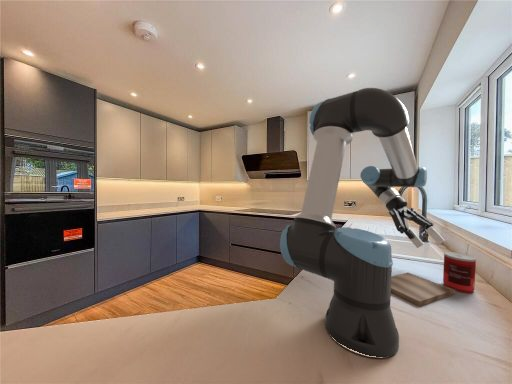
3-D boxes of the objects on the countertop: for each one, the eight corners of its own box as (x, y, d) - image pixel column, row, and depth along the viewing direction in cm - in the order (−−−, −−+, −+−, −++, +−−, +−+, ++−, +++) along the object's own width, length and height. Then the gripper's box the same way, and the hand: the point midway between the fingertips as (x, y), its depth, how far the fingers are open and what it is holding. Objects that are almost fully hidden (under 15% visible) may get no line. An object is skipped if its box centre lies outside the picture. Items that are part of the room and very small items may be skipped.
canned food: (460, 282, 75) (461, 252, 74) (482, 294, 67) (483, 260, 66) (436, 281, 75) (438, 251, 75) (455, 292, 67) (457, 259, 67)
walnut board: (420, 306, 59) (420, 301, 59) (374, 284, 72) (374, 280, 72) (454, 294, 66) (454, 289, 66) (407, 276, 79) (407, 272, 79)
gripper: (404, 205, 99) (441, 245, 86) (367, 207, 89) (402, 252, 76) (417, 195, 94) (458, 235, 81) (379, 195, 84) (419, 242, 71)
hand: (431, 244), depth 79 cm, fingers open, 13 cm apart
